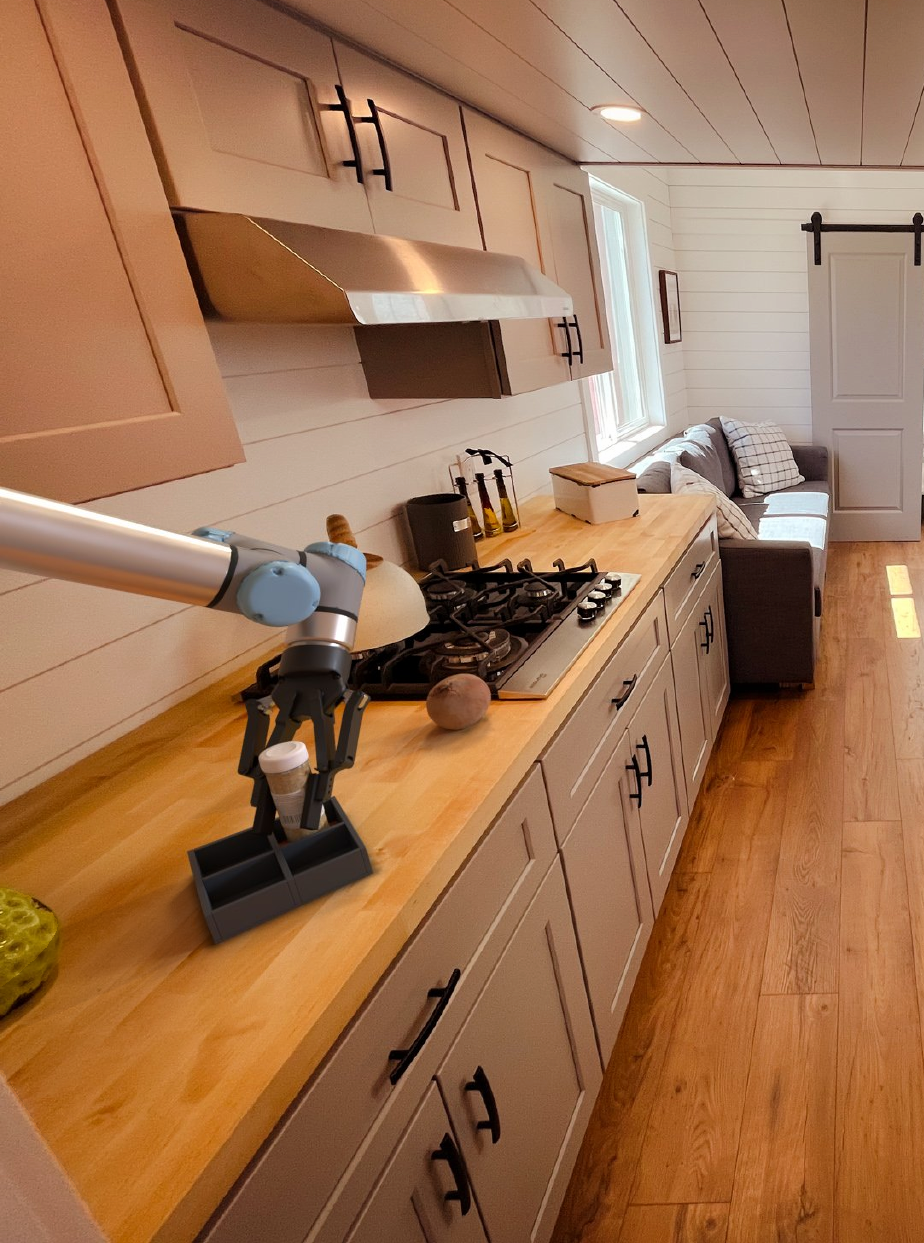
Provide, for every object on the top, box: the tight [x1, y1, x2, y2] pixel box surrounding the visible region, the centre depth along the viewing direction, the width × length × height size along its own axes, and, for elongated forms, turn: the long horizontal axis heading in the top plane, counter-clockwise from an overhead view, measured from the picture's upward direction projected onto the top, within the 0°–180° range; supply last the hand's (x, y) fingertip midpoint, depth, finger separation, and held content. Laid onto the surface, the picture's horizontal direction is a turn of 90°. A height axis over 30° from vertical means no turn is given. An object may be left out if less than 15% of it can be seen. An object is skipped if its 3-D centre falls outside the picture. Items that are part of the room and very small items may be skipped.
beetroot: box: [425, 673, 492, 731], centre depth 119 cm, size 10×9×10 cm
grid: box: [186, 795, 374, 946], centre depth 86 cm, size 15×15×4 cm
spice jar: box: [259, 740, 330, 844], centre depth 89 cm, size 5×5×14 cm
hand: (285, 831), depth 86 cm, fingers closed on spice jar, 4 cm apart
